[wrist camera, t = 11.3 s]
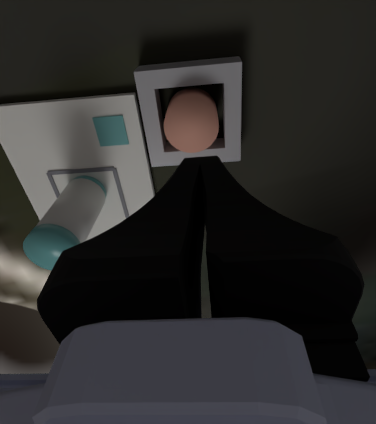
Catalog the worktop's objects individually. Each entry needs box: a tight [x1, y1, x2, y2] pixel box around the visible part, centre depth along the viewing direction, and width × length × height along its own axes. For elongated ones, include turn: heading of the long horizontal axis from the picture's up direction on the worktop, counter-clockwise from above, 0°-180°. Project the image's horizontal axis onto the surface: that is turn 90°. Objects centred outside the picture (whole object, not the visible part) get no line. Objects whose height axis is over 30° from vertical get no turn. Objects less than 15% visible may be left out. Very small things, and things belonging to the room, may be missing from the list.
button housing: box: [134, 56, 242, 167], centre depth 19 cm, size 6×6×2 cm
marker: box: [23, 175, 106, 270], centre depth 20 cm, size 3×3×7 cm
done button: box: [164, 87, 219, 153], centre depth 18 cm, size 3×3×2 cm
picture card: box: [0, 92, 155, 241], centre depth 24 cm, size 16×10×1 cm, turn 5°
